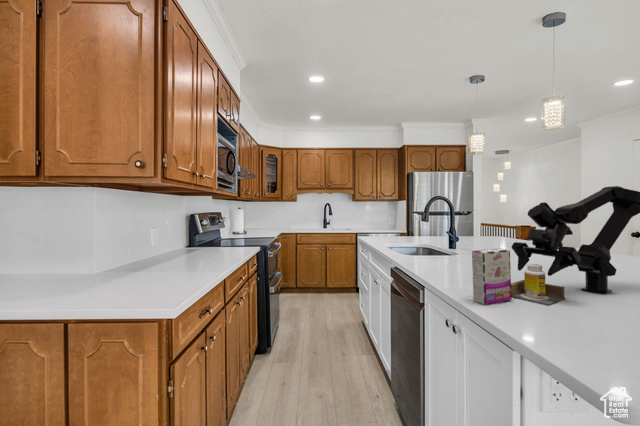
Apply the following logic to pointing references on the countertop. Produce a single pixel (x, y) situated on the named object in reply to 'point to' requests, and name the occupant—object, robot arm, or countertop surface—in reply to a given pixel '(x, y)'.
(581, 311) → the countertop surface
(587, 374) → the countertop surface
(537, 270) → the supplement bottle
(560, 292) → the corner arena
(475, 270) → the candy bar box
